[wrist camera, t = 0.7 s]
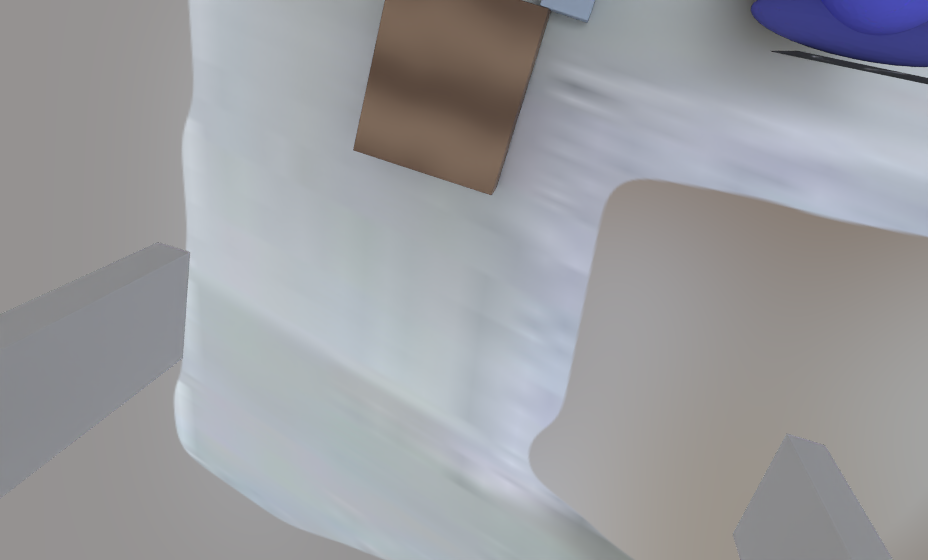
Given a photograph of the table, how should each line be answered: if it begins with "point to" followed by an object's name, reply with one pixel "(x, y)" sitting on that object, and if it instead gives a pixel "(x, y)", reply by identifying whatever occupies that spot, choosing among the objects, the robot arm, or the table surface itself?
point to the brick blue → (570, 8)
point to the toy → (853, 31)
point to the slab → (450, 86)
